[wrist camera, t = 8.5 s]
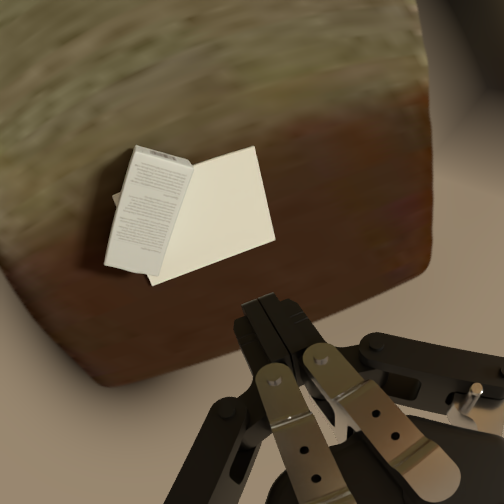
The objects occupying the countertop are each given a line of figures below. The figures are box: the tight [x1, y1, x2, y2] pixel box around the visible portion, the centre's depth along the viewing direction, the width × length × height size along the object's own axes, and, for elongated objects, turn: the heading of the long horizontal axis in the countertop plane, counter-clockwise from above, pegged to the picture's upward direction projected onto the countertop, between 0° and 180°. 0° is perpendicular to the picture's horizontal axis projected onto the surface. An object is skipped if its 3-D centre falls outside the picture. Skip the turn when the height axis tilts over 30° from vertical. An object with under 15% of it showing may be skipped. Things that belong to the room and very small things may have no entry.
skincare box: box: [104, 145, 194, 276], centre depth 31 cm, size 6×4×12 cm
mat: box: [112, 146, 275, 286], centre depth 36 cm, size 12×16×1 cm
